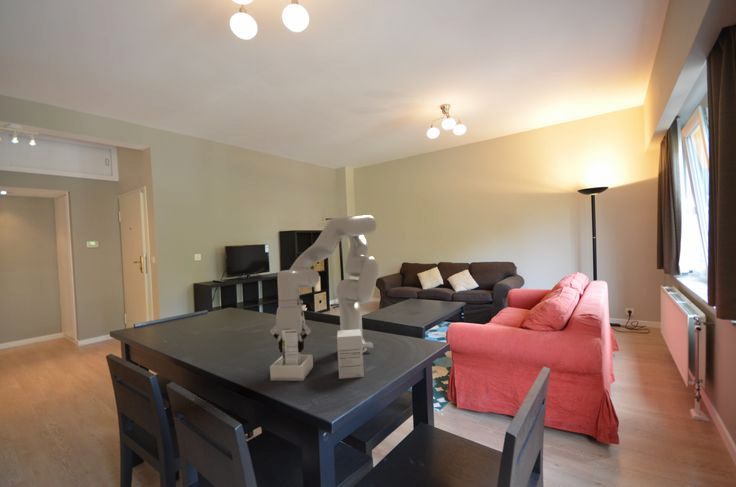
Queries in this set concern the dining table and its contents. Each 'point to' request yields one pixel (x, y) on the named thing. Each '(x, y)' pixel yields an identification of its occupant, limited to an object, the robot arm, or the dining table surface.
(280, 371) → the box
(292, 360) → the syrup box
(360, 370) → the supplement box
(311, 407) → the dining table surface
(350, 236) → the robot arm
